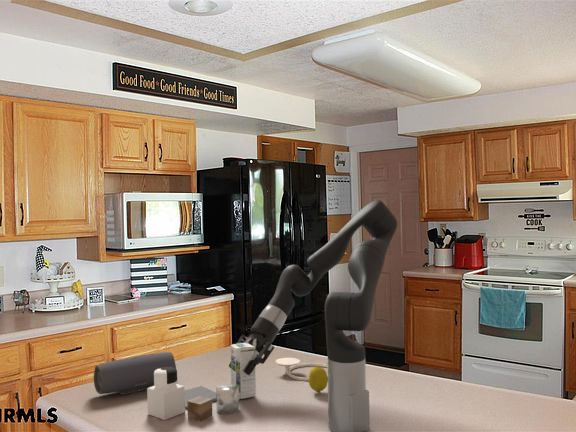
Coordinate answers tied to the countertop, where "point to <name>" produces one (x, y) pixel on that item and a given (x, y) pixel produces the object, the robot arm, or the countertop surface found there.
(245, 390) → the syrup box
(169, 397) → the medicine bottle
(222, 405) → the brushed tin
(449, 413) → the countertop surface
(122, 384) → the bluetooth speaker
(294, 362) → the hand towel holder
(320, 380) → the lemon
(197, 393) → the plate
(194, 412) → the walnut block
